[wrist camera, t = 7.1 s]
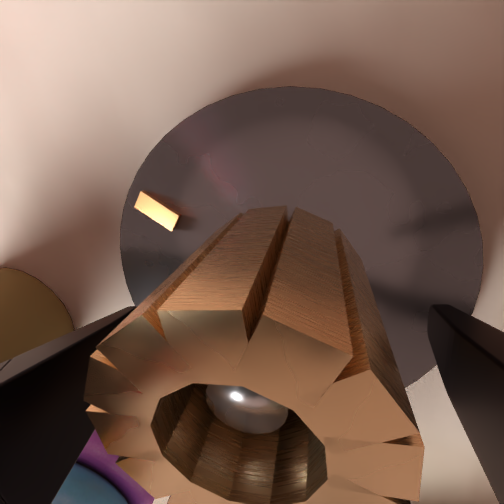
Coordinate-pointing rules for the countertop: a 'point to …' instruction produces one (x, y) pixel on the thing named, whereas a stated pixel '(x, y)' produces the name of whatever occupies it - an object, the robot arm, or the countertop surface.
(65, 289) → the countertop surface
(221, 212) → the disc
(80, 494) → the stacking toy
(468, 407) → the robot arm
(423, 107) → the countertop surface
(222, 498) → the tan hollow faceted cylinder
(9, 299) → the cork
